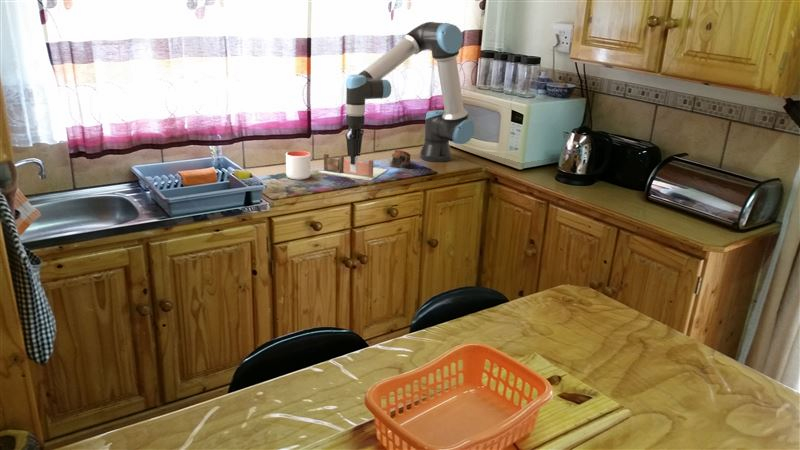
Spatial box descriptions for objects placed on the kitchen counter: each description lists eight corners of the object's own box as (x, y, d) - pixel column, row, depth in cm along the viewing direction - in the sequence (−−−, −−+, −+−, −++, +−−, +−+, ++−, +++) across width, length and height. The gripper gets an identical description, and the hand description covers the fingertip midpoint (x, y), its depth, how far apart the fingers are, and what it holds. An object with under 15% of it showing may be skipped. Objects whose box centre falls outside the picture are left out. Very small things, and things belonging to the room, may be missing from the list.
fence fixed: (344, 173, 275) (344, 156, 272) (342, 174, 273) (342, 157, 271) (325, 170, 278) (325, 153, 275) (323, 171, 276) (323, 154, 274)
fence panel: (343, 172, 273) (343, 157, 271) (344, 171, 274) (345, 156, 272) (371, 176, 269) (372, 161, 266) (373, 175, 270) (373, 160, 268)
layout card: (387, 170, 283) (387, 169, 282) (370, 180, 266) (370, 179, 266) (337, 163, 291) (337, 162, 290) (318, 172, 274) (318, 171, 274)
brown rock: (384, 165, 292) (389, 149, 293) (400, 173, 297) (406, 156, 298) (398, 165, 282) (404, 147, 283) (415, 173, 287) (420, 155, 288)
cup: (308, 173, 272) (307, 150, 269) (312, 179, 263) (312, 156, 260) (284, 174, 269) (284, 151, 266) (288, 180, 260) (288, 157, 257)
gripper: (353, 111, 263) (352, 166, 271) (339, 115, 252) (338, 173, 260) (370, 113, 261) (368, 169, 269) (357, 117, 249) (355, 176, 257)
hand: (353, 171), depth 264 cm, fingers closed
